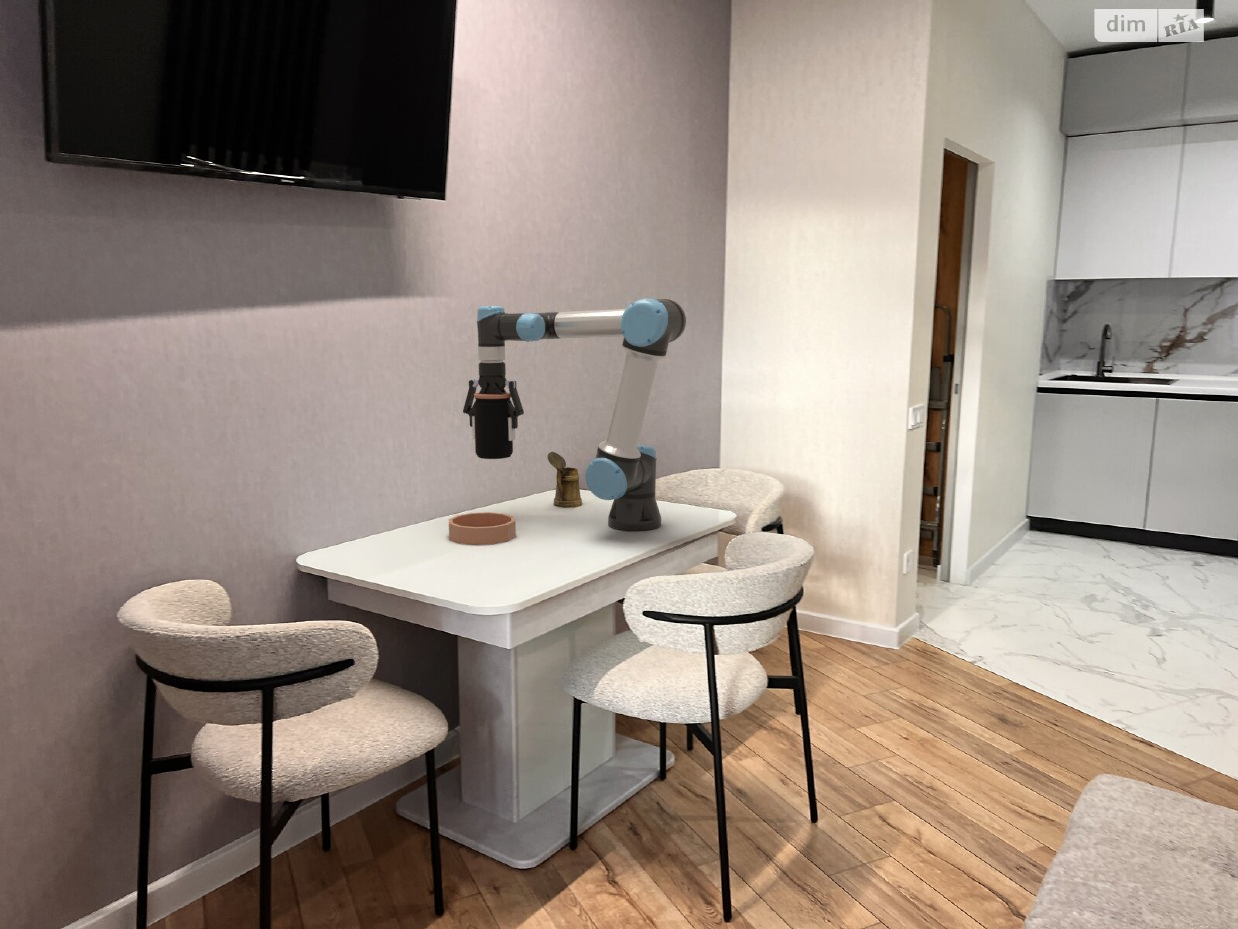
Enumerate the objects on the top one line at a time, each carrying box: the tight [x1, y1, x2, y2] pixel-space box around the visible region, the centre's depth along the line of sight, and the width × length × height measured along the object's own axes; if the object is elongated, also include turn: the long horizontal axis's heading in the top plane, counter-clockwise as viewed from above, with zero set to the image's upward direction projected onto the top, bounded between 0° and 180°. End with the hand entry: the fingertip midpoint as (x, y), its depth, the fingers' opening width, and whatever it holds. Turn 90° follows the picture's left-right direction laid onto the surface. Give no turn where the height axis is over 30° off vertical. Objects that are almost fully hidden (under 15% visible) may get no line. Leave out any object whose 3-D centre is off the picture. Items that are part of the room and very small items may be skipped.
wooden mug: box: [546, 451, 583, 508], centre depth 288 cm, size 9×14×18 cm, turn 151°
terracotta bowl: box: [448, 511, 517, 546], centre depth 252 cm, size 18×18×4 cm
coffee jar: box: [473, 391, 514, 460], centre depth 266 cm, size 11×11×18 cm
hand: (493, 439), depth 267 cm, fingers closed on coffee jar, 11 cm apart
